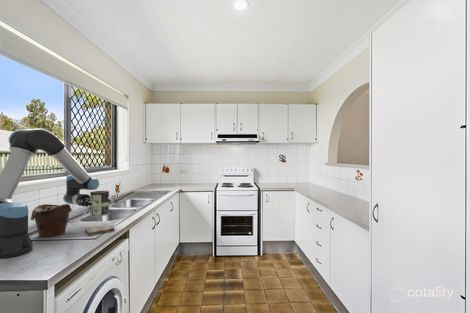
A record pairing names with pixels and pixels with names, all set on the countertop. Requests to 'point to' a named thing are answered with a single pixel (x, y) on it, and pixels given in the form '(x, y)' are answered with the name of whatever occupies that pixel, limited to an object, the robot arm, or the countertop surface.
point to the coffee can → (100, 203)
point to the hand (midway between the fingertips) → (104, 202)
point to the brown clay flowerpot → (51, 219)
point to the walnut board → (99, 229)
